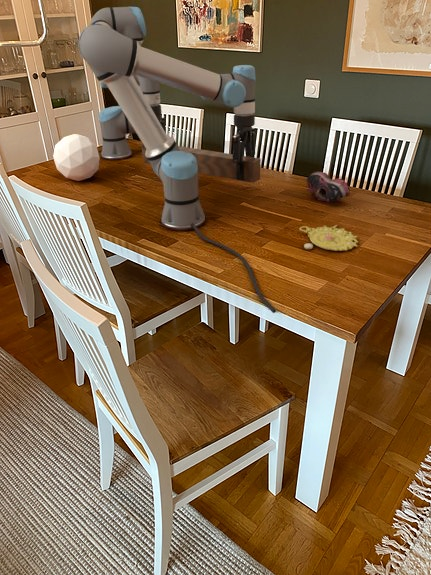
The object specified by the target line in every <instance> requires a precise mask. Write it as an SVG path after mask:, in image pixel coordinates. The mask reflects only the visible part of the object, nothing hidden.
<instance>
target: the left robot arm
mask: <svg viewBox="0 0 431 575" xmlns="http://www.w3.org/2000/svg"><path fill="white" fill-rule="evenodd" d="M92 24H102V25H105V26H108V27H110V28H112V29H113V30H115V31H117V32H118V33H120V34H122V35H124V36H126V37H128V38H130V39H133V40H136V41H138V43H139V45H140V46H141V47H142V44H143V42H144V38H145V37H146V36H147V27H146V21H145V17H144V15H143V12H142V10H141V8H139V7H138V6H117V7H115V6H113V7H104V8H101V9H99V10H98V11H96V12H95V14H94V15H93V16H92V18H91V19H90V23H89V26H90V25H92ZM133 77H134V79H135V80H136V82H137V84H138V86H139V87H140V89H141V91H142V93H143V94H144V96H145V98H146V100H147V101H148V103H149V105H150V107H151V108H152V110H153V112H154V114H155V115H156V117H157V119H158V121H159V122H160V124H161V126H162V128H163V129H164V131H165V133H166V134H167V128H166V117H162V116H161V115H162V113H163V112H162V104H161V94H160V93H161V92H160V83H159V82H156V81H153V80H149V79H146V78H143V77H140V76H137V75H133ZM99 86H100V87H101V88H102V89H109V88H108V86H107V85H106V84H105V83H102V82H99ZM98 118H99V119H98V121H99V124H100V130H101V138H102V147H101V148H102V149H101V150H98V154H100V153H101V154H100V155H101V158H102V159H103V160H107V161H120V160H125V159H128V158H130V157H131V156H132V154H133V153H132V149H131V148H130V145H129V143H128V141H127V135H129V134H137V133H136V132H135V130H134V128H133V127H132V125H131V123H130V122H129V120H128V119H127V117H126V115H125V114H124V112H123V111H122V109H121V107H120V106H119V105H116V106H109V107H106V108H103V109H101V110H100V111H99V112H98ZM143 148H145V146H144V145H143ZM149 163H150V162H149Z"/></svg>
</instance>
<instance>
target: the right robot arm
mask: <svg viewBox="0 0 431 575" xmlns="http://www.w3.org/2000/svg"><path fill="white" fill-rule="evenodd" d="M78 51H79V53H80V55H81V58H82V59H83V60H84V61H85V62H86V64H87V65H88V67H89V68H90V70H91V71H92V73H93V75H94V76H95V78H96V79H97V81H98V82H99V83H100V82H102V83H105V84H106V85H107V86H108V88H107V89H108V90H109V92H111V95H112V96H113V97H114V100H115V101H116V102H117V104H118V106H120V107H121V109H122V111H123V112H124V114H125V115H126V117H127V119H128V120H129V122H130V123H131V125H132V127H133V128H134V130H135V132H136V133H135V134H136V135H137V137H138V138H139V140H140V141H141V143H142V144H143V145H144V146H145V148H146V152H145V156H146V158H147V159H148V161H149V162H150V164H149V165H150V166H151V168H152V170H153V172H154V173H155V175H156V176H157V177H158V178H159V179H160V181H161V182H162V184H163V194H164V204H163V209H162V213H161V219H160V220H161V225H162V227H163V228H165V229H167V230H170V231H175V232H176V231H177V232H185V231H186V232H187V231H192V230H194V231H195V232H196V233H197V234H198V236H199V237H200V238H201V239H202V240H204V241H205V242H206V243H209V244H212V245H215V246H217V247H219V248H221V249H224V250H226V251H227V252H230V253H232V254H233V255H234V256H236V257H237V258H238V259H239V260H240V261H241V262H242V263H243V265H244V267H245V268H246V269H247V271H248V273H249V277H250V280H251V283H252V284H253V287H254V290H255V293H256V294H257V296H258V298H259V299H260V301H261V302H262V303H263V304H264V305H265V306H266V307H267V308H268V309H269V310H270V311H271V313H272V314H275V313H276V312H277V310H276V309H275V307H274V306H273V305H272V304H271V303H270V302H269V301H268V300H267V299H266V298H265V296H264V295H263V293H262V292H261V289H260V288H259V285H258V283H257V279H256V277H255V276H254V273H253V270H252V268H251V265H249V263H248V262H247V260H246V259H245V258H244V257H243V256H242V255H241V254H240V253H239V252H238V251H236V250H234V249H232V248H231V247H229V246H227V245H224V244H222V243H221V242H218V241H215V240H212V239H209V238H208V237H206V236H205V235H204V234H203V233H202V232H201V230H200V229H199V228H201V227H202V226H203V225H204V224H205V223H206V216H205V212H204V210H203V208H202V204H201V202H200V196H199V175H198V174H199V173H198V172H197V170H198V165H197V160H196V158H195V156H194V155H193V154H191V153H189V152H185V151H181V150H180V149H179V147H178V146H179V145H178V144H177V142H176V139H175V138H174V137H173V136H168V134H167V132H166V133H165V131H164V129H163V128H162V126H161V124H160V122H159V121H158V119H157V117H156V115H155V114H154V112H153V110H152V108H151V107H150V105H149V103H148V101H147V100H146V98H145V96H144V94H143V93H142V91H141V89H140V87H139V86H138V84H137V82H136V80H135V79H134V77H133V75H137V76H140V77H143V78H146V79H149V80H153V81H156V82H159V84H162V85H165V86H168V87H171V88H175V89H177V90H181V91H184V92H187V93H190V94H193V95H196V96H200V98H201V100H203V101H214V102H217V103H220V104H224V105H226V106H227V107H229V108H230V107H231V108H233V114H234V115H233V126H234V127H236V132H235V135H234V134H232V136H231V140H232V154H233V163H236V178H237V180H236V181H239V180H241V181H240V182H244V181H243V180H244V163H242V161H243V156H244V154H245V156H247V157H254V158H256V157H255V156H256V133H257V128H256V127H255V128H254V126H255V125H256V115H255V113H256V81H257V79H256V68H255V66H253V65H250V64H241V65H235V66H233V68H232V72H230V73H220V74H219V73H217V72H213V71H210V70H208V69H204V68H202V67H200V66H197V65H194V64H191V63H188V62H185V61H183V60H180V59H177V58H174V57H171V56H170V55H169V56H168V55H165V54H162V53H160V52H158V51H154V50H152V49H150V48H146V47H143V46H142V45H141V46H140V45H139V43H138V41H136V40H133V39H130V38H128V37H126V36H124V35H122V34H120V33H118V32H117V31H115V30H113V29H112V28H110V27H108V26H105V25H102V24H92V25H90V24H89V25H87V26H86V27H85V28H83V30H82V31H81V33H80V35H79V38H78Z"/></svg>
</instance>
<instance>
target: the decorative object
mask: <svg viewBox="0 0 431 575" xmlns="http://www.w3.org/2000/svg"><path fill="white" fill-rule="evenodd" d="M303 228H304V229H305V230H304V229H303ZM299 231H300V232H303V233H305V234H307V237H308V238H309V240H310V241H311V243H304V244H303V248H304V249H305V250H313V249H314V245H315V246H316V247H318V248H321V249H324V250H328V251H335V252H341V251H348V250H352V249H354V247H356V248H358V247H359V245H358V244H357V243H359V240H357V238H359V237H358V235H353V234H352V231H347V230H346V229H345V228H344V227H342V228H338V224H335V225H333V226H331V227H328V226H327V225H326V224H325V225H323V226H322V227H321V226H317V227H316V228H314V227H309V226H308V225H302V226H300V227H299ZM313 244H314V245H313Z"/></svg>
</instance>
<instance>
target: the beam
mask: <svg viewBox="0 0 431 575" xmlns="http://www.w3.org/2000/svg"><path fill="white" fill-rule="evenodd" d="M178 147H179V149H180V150H181V151H185V152H189V153H191V154H193V155H194V156H195V158H196V160H197V165H198V170H197V172H198V174H200V175H207V176H212V177H218V178H223V179H229V180H233V181H239V182H245V183H251V184H254V183H256V182H257V181H259V180H261V163H262V162H261V160H262V159H261V158H259V157H247V156H246V155H243V161H242V163H244V180H243V181H241V180H237V178H236V163H233V153H228V152H221V151H214V150H208V149H200V148H195V147H187V146H182V145H181V146H180V145H178ZM145 152H146V148H143V143H142V144H141V154H142V162H143V164H146V165H147V164H148V165H151V164H150V163H149V161H148V159H147V158H146V156H145Z"/></svg>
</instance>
